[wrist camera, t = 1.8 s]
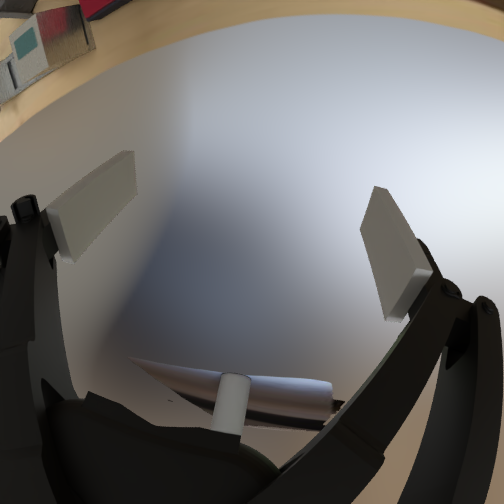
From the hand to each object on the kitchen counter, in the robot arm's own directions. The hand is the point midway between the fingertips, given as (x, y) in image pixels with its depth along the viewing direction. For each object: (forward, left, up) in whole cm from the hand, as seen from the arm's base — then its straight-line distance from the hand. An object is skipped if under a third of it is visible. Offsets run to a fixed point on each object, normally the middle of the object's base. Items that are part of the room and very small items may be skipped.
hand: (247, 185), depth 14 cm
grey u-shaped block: (-15, -36, -23) cm, 45 cm away
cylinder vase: (+106, -24, -23) cm, 111 cm away
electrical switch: (-28, -36, -23) cm, 51 cm away
